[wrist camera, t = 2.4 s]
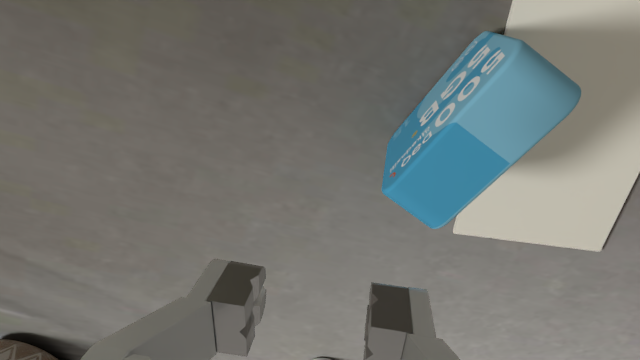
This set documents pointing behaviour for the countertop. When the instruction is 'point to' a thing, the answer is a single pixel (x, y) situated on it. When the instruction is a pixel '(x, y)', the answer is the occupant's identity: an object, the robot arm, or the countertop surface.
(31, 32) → the countertop surface
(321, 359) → the supplement bottle
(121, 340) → the robot arm
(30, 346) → the planter
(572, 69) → the mat
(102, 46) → the countertop surface
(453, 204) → the data package
